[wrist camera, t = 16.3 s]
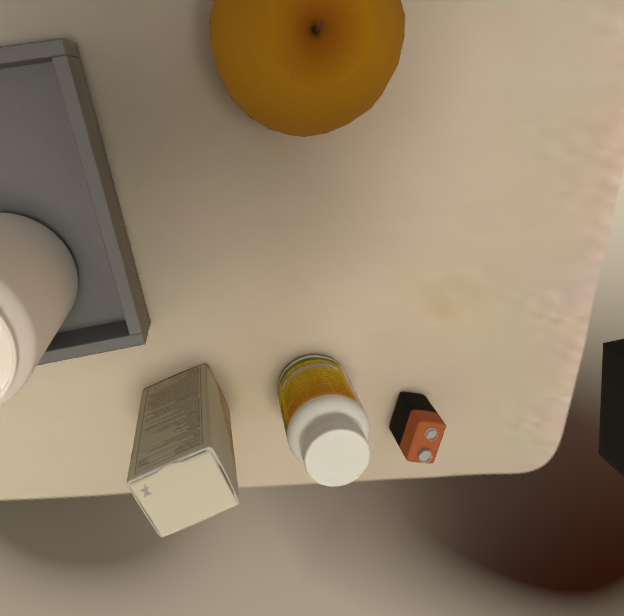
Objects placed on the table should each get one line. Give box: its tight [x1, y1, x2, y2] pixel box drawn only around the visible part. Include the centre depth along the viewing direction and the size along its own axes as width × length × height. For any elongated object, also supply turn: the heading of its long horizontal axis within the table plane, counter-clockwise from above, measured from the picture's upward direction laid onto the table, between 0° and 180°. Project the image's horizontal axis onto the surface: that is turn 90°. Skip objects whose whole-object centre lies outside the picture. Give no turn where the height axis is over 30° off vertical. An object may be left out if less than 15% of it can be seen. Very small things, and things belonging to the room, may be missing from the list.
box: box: [127, 364, 239, 537], centre depth 37 cm, size 5×4×11 cm
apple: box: [209, 0, 405, 137], centre depth 30 cm, size 10×10×12 cm
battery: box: [390, 392, 446, 463], centre depth 44 cm, size 2×3×5 cm, turn 166°
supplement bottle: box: [277, 355, 370, 487], centre depth 39 cm, size 5×5×10 cm
